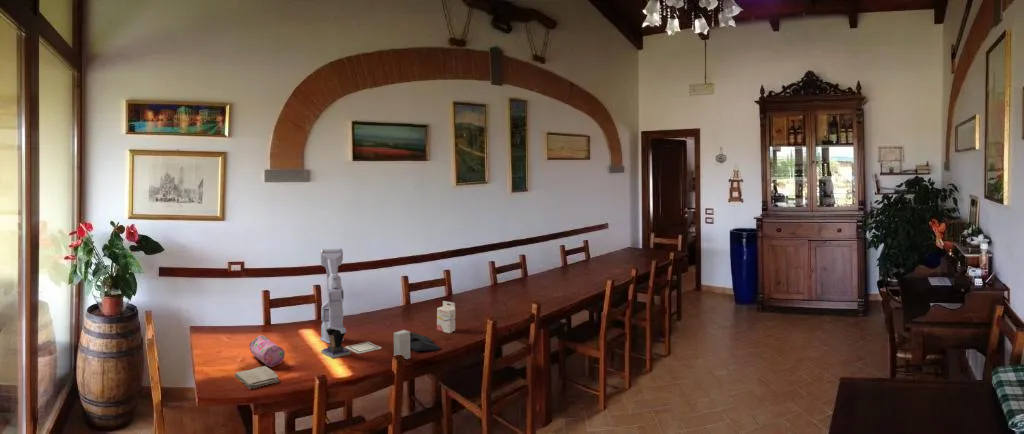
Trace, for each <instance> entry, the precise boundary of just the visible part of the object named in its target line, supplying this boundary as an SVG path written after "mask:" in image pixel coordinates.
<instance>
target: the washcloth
mask: <svg viewBox="0 0 1024 434" xmlns="http://www.w3.org/2000/svg"><path fill="white" fill-rule="evenodd" d="M234 377H235V378H236V379H237V380H239V381H240V382H241V383H242V384H243V383H244V384H243V385H245V386H246V388H248V389H249V390H251V388H252V389H257V387H259V388H261V387H260V386H263V385H267V386H269V385H268V384H272V383H276V384H278V383H277V382H279V383H280V380H279V376H278V375H277V373H276V371H274V370H272V369H271V368H269V367H268V366H267V365H263V366H257V367H255V368H252V369H246V370H242V371H238V372H235V374H234ZM272 385H273V384H272ZM263 387H264V386H263Z"/></svg>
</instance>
